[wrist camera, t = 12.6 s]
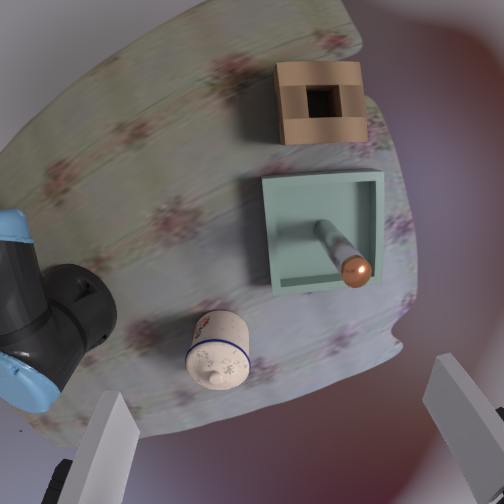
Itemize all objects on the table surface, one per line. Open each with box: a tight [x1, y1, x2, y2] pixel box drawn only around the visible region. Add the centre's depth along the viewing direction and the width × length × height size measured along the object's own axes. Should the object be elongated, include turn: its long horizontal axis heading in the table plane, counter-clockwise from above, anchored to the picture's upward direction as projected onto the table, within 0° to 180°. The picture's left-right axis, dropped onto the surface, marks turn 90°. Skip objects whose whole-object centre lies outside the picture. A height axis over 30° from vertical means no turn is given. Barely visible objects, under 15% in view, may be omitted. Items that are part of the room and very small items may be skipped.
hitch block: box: [273, 61, 368, 145], centre depth 36 cm, size 10×10×6 cm
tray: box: [261, 169, 384, 296], centre depth 42 cm, size 16×16×4 cm
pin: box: [314, 219, 372, 288], centre depth 36 cm, size 3×3×15 cm
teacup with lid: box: [185, 310, 250, 390], centre depth 45 cm, size 12×9×12 cm
